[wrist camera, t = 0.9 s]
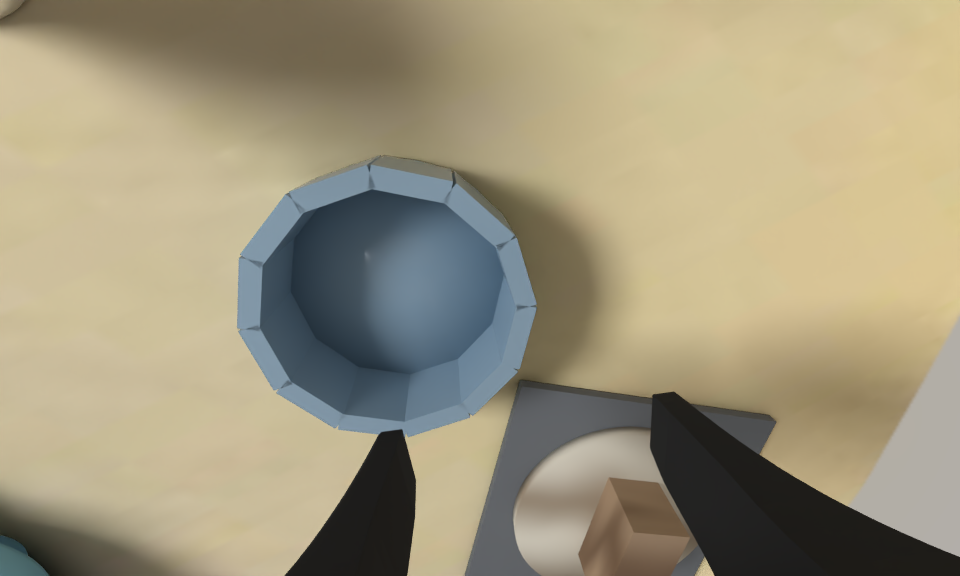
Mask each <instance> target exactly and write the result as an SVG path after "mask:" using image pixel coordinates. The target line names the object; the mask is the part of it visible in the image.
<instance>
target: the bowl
mask: <svg viewBox="0 0 960 576" xmlns="http://www.w3.org/2000/svg"><path fill="white" fill-rule="evenodd" d="M240 255H242V256H241V257H240V258H239V276H238V317H237V328H240V330H239V331H238V332H239V334H240V335H241V337H242V339H243V340H244V342H245V344H246V345H247V347H248V349H249V350H250V352H251V354H252V355H253V357H254V359H255V360H256V362H257V364H258V365H259V367H260V368H261V370H262V372H263V373H264V375H265V377H266V378H267V380H268V382H269V383H270V385H271V387H272V388H273V390H277V389H278V391H277V394H279V395H280V396H282V397H284V398H285V399H287V400H289V401H290V402H292V403H294V404H295V405H297V406H299V407H300V408H302V409H304V410H305V411H307V412H309V413H310V414H312V415H313V416H315V417H317V418H318V419H320V420H322V421H323V422H325V423H327V424H328V425H330V426H332V427H333V428H336V427H337V426H338V425H339V427H338V430H346V431H354V432H363V433H371V434H380V433H381V432H384V431H391V430H399V429H402V430H403V434H404V437H405V434H407V436H408V437H410V436H413V435H417V434H420V433H423V432H426V431H429V430H432V429H435V428H439V427H442V426H445V425H448V424H451V423H454V422H457V421H461V420H464V419H467V418H470V414H471V415H472V416H473V415H474V414H475V413H476V412H477V411H478V410H479V409H480V408H481V407H482V406H483V405H485V404H486V403H487V402H488V401H489V400H490V399H491V398H492V397H493V396H494V395H495V394H496V393H497V392H498V391H499V390H500V389H501V388H502V387H503V386H504V385H505V384H506V383H507V382H508V381H509V380H510V379H511V378H512V377H513V376H514V375H515V374H516V373H517V372H518V370H517V369H520V366H521V363H522V359H523V356H524V352H525V348H526V345H527V341H528V338H529V334H530V330H531V327H532V323H533V320H534V316H535V313H536V309H537V307H536V305H537V303H536V300H535V297H534V293H533V290H532V287H531V283H530V280H529V277H528V273H527V270H526V267H525V263H524V260H523V257H522V254H521V250H520V247H519V244H518V240H517V238H516V236H515V234H514V233H513V231H512V229H511V227H510V226H509V224H508V222H507V221H506V219H505V217H504V216H503V214H502V213H501V212H500V211H499V210H498V209H496V208H495V207H494V206H493V205H492V204H491V203H490V202H489V201H488V200H487V199H486V198H485V197H484V196H483V195H482V194H481V193H480V192H479V191H478V190H477V189H475V188H474V187H473V186H472V185H470V184H469V183H468V182H467V181H465V180H464V179H463V178H462V177H461V176H460V175H459V174H457V173H456V172H455V171H453V172H451V169H449V168H444V167H439V166H436V165H433V164H429V163H426V162H422V161H419V160H412V159H405V158H396V157H392V156H387V155H383V156H382V157H381V155H380V156H377V157H374V158H371V159H368V160H365V161H362V162H359V163H356V164H352V165H350V166H347V167H345V168H342V169H340V170H337V171H334V172H331V173H328V174H325V175H322V176H319V177H317V178H315V179H313V180H311V181H309V182H307V183H305V184H303V185H301V186H299V187H297V188H295V189H293V190H292V191H290V192H289V193H287V194H285V196H284V197H283V198H282V200H281V201H280V202H279V204H278V205H277V206H276V208H275V209H274V210H273V212H272V213H271V214H270V216H269V217H268V218H267V219H266V221H265V222H264V223H263V225H262V226H261V227H260V229H259V230H258V231H257V233H256V234H255V235H254V237H253V238H252V239H251V241H250V242H249V243H248V245H247V246H246V247H245V249H244V250H243V251H242V253H241V254H240Z"/></svg>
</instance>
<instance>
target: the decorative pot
mask: <svg viewBox="0 0 960 576" xmlns="http://www.w3.org/2000/svg"><path fill="white" fill-rule="evenodd" d="M0 576H50V575H49V574H48V573H47V572H46V571H45V569H44V568H43V567H42V566H41V565H39V564H38V563H37V562H36V561H35V560H34V559H32V558H31V557H29V556H28V553H27V550H26V549H25V547H24V546H23V545H22V544H20V543H19V542H18V541H16V540H14V539H12V538H9V537H6V536H0Z"/></svg>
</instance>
